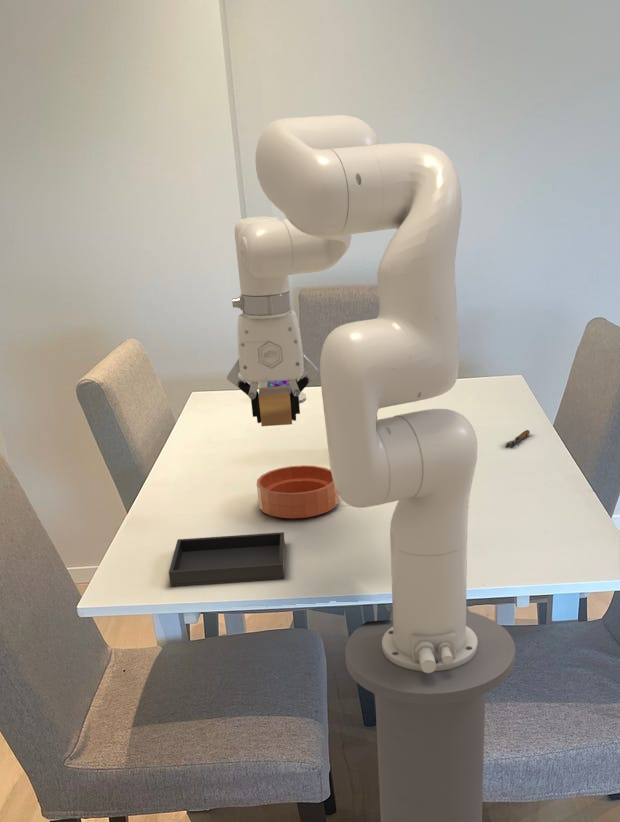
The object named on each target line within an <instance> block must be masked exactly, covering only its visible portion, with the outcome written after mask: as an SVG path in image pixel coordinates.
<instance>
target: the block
mask: <svg viewBox="0 0 620 822" xmlns="http://www.w3.org/2000/svg"><path fill="white" fill-rule="evenodd" d="M258 388H259V389H258V394H259V406H260V416H261V423H260V424H261V425H260V426H261V427H273V426H274V427H275V426H287V425H288V426H290V425H293V420H292V414H291V402H290V386H278V387H267V386H266V387H265V386H263V387H258Z"/></svg>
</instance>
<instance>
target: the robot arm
mask: <svg viewBox="0 0 620 822" xmlns="http://www.w3.org/2000/svg"><path fill="white" fill-rule="evenodd" d="M254 162H255V171H256V176H257V179H258V183H259V185H260V189H262V192H263V193H264V195H265V196H266V197H267V199H268V200H269V201H270V202H271V203H272V204H273V205H274V207H276V208H277V209H278V210H279V211H280V212H281V213H283V214H284V216H285V218H282V219H280V218H279V217H276V216H268V215H261V216H250V217H245V218H242V219H240V220H238V221H237V222H236V223H235V226H234V239H235V240H234V241H235V249H236V260H237V269H238V276H239V277H238V279H239V289H240V295H239V297H236V298H232V299H231V302H232V308H233V309H236V308H237V309H240V311H242V313H240V314H239V315H238V319H237V351H238V358H237V360H236V361H235V363H234V364H233V366H232V367H231V369H230V371H229V372H228V373H227V376H226V380H227V381H228V382H230V383H231V384H232V385H234V386H236V387H237V388H238V389H239V390H240V391H242V392H243V393H244V394H246V396H247V397H248V398H249V399H250V403H251V413H252V417H253V418H256V422H257V424H261V416H260V406H259V390H258V388H259V383H264V382H268V381H281V380H288V383H289V385H290V388H291V393H290V402H291V414H292V422H295V421H297V415H301V410H300V408H301V407H300V401H299V395H300V393H301V392H303V391H304V389H305V388H306V387H307V386H308V384H309V383H310V382H311V381H312V380H314V379H315V378H316V377H317V376H318V375H319V377H320V387H321V388H320V390H321V397H322V398H321V399H322V407H323V414H324V415H323V416H324V423H325V424H324V425H325V434H326V441H327V443H326V444H327V451H328V459H329V467H330V468H329V469H330V470H331V474H332V478H333V482H334V485H335V488H336V490H337V492H338V495H339V498H340V499H341V500H342V502H344V503H345V504H346V505H347V506H350V507H353V508H358V509H360V508H362V509H363V508H370V507H375V506H376V507H377V506H380V505H385V504H389V503H393V502H397V503H396V505H395V507H394V510H393V513H392V516H391V521H390V527H389V539H390V540H389V541H390V544H389V545H390V573H391V574H390V575H391V603H392V608H391V609H392V612H393V627H392V628H390V629H389V630H388V631H387V632H386V633H385V634H384V636H383V638H382V651H383V653H384V655H385V656H386V658H387V659H389V660H390V661H391V662H392V663H394V664H396V665H398V666H400V667H403V668H406V669H410V670H414V671H423V672H425V673H431V672H435V671H444V670H449V669H453V668H456V667H459V666H461V665H463V664H465V663H467V662H468V661H469V660H471V659H472V658H473V656H474V655H475V654H476V652H477V646H478V640H477V636H476V635H475V633H474V632H473V631H472V630H471V629H470V628H469V627H467V626H466V611H467V589H468V588H467V584H468V583H467V582H468V581H467V579H468V577H467V576H468V575H467V574H468V530H469V529H468V527H469V507H470V505H469V504H470V496H471V490H472V486H473V485H472V484H473V480H474V475H475V472H476V466H477V461H478V439H477V435H476V431H475V429H474V427H473V425H472V423H471V422H470V421H469V420H468V418H466V416H464V415H463V414H461V413H460V412H458V411H456V410H452V409H448V408H429V409H423V410H418V411H417V410H416V411H412V412H407V413H401V414H397V415H393V416H389V417H385V418H380V419H377V420H376V417H377V418H378V412H379V410H381V409H385V408H389V407H393V406H399V405H405V404H410V403H414V402H415V403H416V402H420V401H424V400H425V401H426V400H429V399H433V398H435V397H440V396H442V395H444V394H446V393H448V392H449V391H451V390H452V388H454V387H455V385H456V382H457V380H458V377H459V370H460V346H459V325H458V324H459V323H458V304H457V285H456V257H457V247H458V242H459V241H458V240H459V235H460V228H461V222H462V221H461V220H462V210H463V209H462V207H463V206H462V204H463V203H462V201H463V200H462V190H461V188H462V187H461V184H460V183H461V182H460V178H459V176H458V172H457V169H456V167H455V165H454V163H453V161H452V160H451V158H450V157H449V156H448V155H447V154H446V152H445V151H443V150H442V149H440V148H438V147H437V146H434V145H431V144H426V143H420V142H419V143H418V142H392V143H380V142H379V139H378V136H377V134H376V133H375V130H374V129H373V128H372V127H371V126H370V125H369V124H368V123H367V122H365V121H364V120H362V119H361V118H358V117H355V116H352V115H348V114H330V115H329V114H328V115H313V116H297V117H296V116H295V117H285V118H278V119H276V120H274V121H272V122H270V123H269V124H268V125H267V126H266V127H265V128H264V129H263V131H262V132H261V135H260V137H259V139H258V141H257V145H256V149H255V161H254ZM385 230H396V231H395V232H394V234H393V235H392V237H391V239H390V240H389V242H388V244H387V246H386V248H385V250H384V253H382V254H383V255H382V257H381V259H380V262H379V264H378V267H377V268H378V269H377V273H376V274H377V275H376V280H377V282H376V283H377V291H378V305H379V307H378V308H379V309H378V315H377V317H376V318H371V319H364V320H357V321H353V322H347V323H345V324H342V325H339V326H337V327H336V328H333V330H332V331H330V333H329V334H328V335H327V337H326V338H325V340H324V342H323V345H322V348H321V353H320V361H319V369H318V367H317V366H315V364H314V363H313V362H312V361H311V360H310V359H309V358H308V357H307V355H306V354H305V353H304V350H303V343H302V335H301V330H300V329H301V328H300V324H299V319H298V316H297V313H296V310H293V309H292V305H291V304H292V303H291V292H290V279H289V277H290V276H294V275H301V274H302V275H303V274H310V273H317V272H318V273H319V272H323V271H326V270H329V269H331V268H332V267H334V266H335V265H336V264H337V263H338V262H339V261H341V259H342V258H343V257H344V255H345V254H346V253H347V251H348V249H349V248H350V245H351V242H352V238H353V237H352V235H355V234H363V233H372V232H373V233H374V232H379V231H385ZM305 370H306V372H305ZM304 372H305V373H304ZM239 374H240V376H239Z"/></svg>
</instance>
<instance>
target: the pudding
mask: <svg viewBox="0 0 620 822" xmlns="http://www.w3.org/2000/svg"><path fill="white" fill-rule="evenodd" d="M278 386H290V385H289V383H288V380H281V381H267V384H266V387H278ZM290 393H291V388H290ZM306 398H307V394H306V393H305V392H303V391H301V393H300V395H299V402H300V401H302V400H304V399H306Z"/></svg>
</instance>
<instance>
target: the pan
mask: <svg viewBox="0 0 620 822" xmlns="http://www.w3.org/2000/svg"><path fill="white" fill-rule="evenodd" d="M285 561H286V541H285V532H284V531H282V532H267V533H266V532H265V533H251V534H238V535H237V534H236V535H223V536H210V537H209V536H208V537H194V538H192V537H191V538H178V539H177V540H176V543H175V548H174V551H173V555H172V559H171V563H170V566H169V570H168V577H169V583H170V587H183V586H197V585H211V584H227V583H228V584H229V583H241V582H256V581H270V580H284V579H285V569H286V568H285V567H286V562H285Z"/></svg>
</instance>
